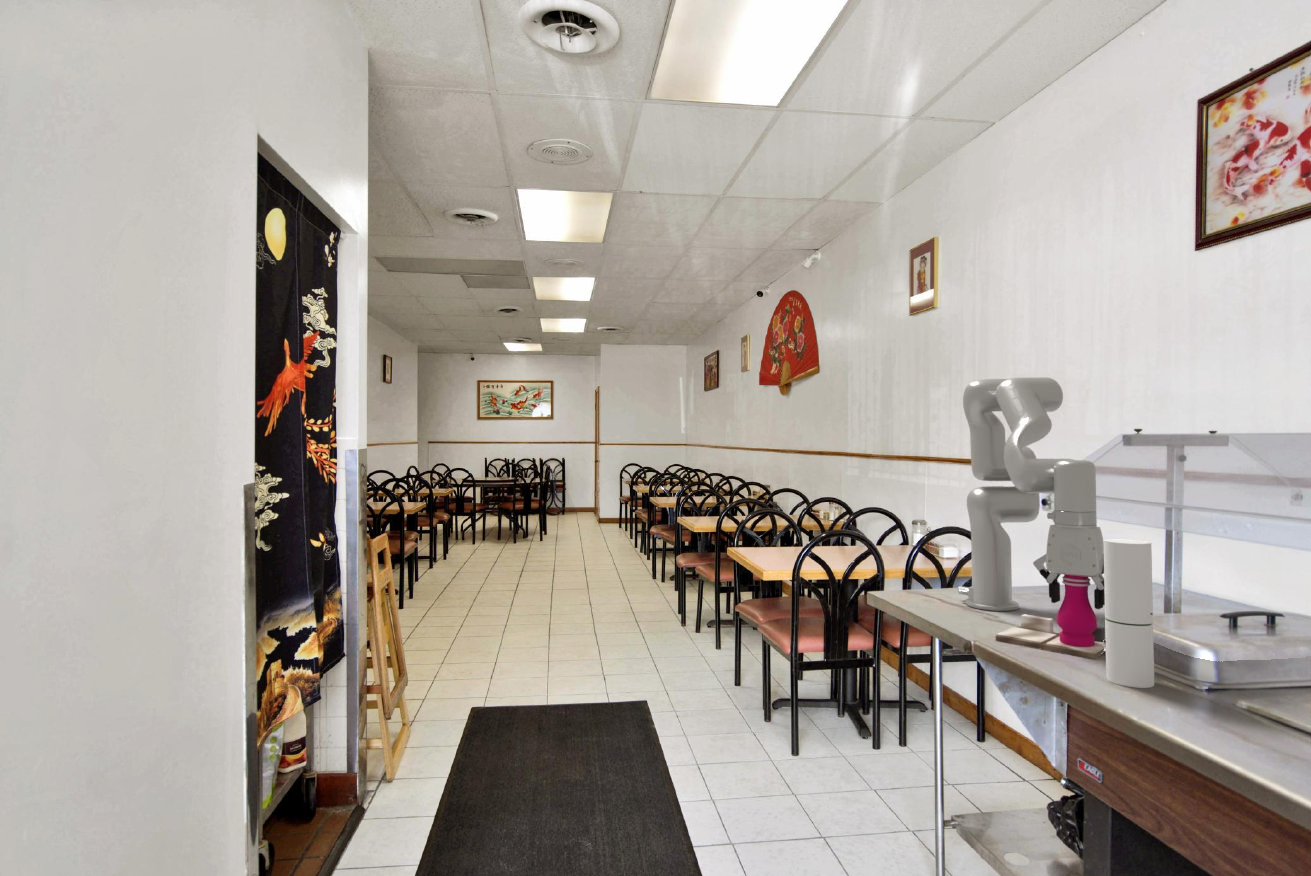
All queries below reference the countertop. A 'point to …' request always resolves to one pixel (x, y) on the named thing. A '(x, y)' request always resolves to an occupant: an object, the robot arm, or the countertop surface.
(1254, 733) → the countertop surface
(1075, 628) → the pepper mill
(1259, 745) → the countertop surface
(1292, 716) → the countertop surface
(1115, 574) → the cylindrical container
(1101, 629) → the board
